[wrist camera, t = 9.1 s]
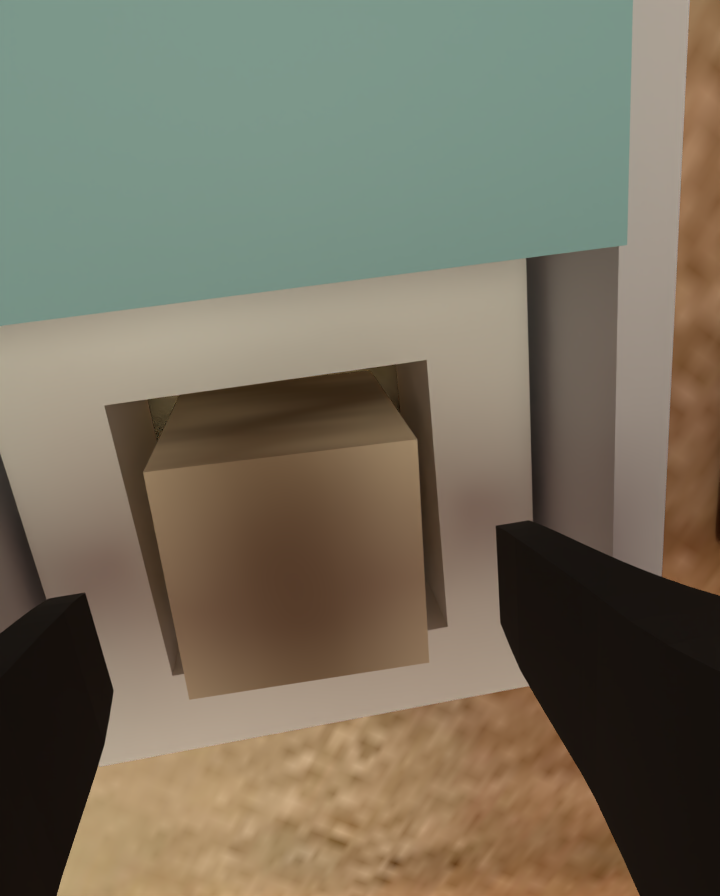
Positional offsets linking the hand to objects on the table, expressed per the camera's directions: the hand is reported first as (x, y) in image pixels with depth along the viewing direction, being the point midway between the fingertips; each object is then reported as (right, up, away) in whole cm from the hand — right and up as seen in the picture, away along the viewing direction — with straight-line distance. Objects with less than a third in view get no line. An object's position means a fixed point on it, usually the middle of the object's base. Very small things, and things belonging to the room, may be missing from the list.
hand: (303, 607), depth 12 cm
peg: (-1, +2, +7) cm, 7 cm away
